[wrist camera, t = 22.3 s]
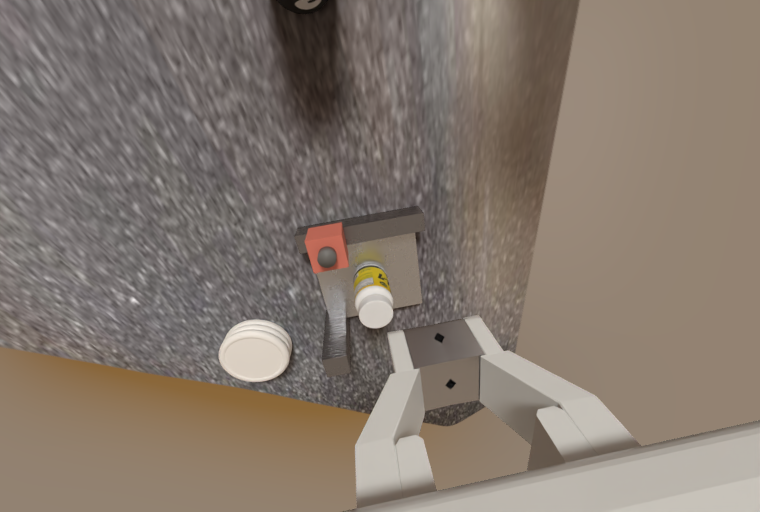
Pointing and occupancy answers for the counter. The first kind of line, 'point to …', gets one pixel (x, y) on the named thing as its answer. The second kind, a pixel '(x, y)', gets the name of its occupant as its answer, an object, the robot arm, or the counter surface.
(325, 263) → the handle
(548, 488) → the robot arm
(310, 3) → the beverage can
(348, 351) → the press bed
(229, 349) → the coaster
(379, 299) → the supplement bottle
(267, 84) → the counter surface
